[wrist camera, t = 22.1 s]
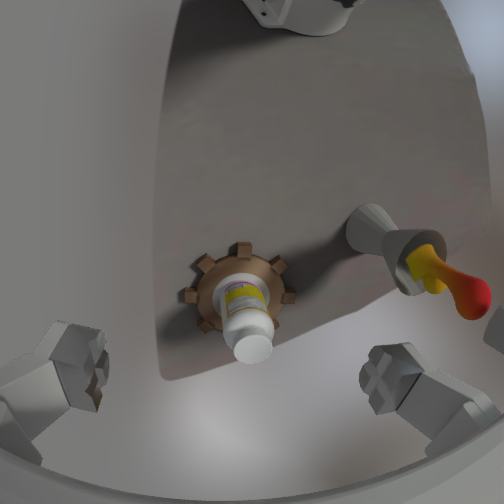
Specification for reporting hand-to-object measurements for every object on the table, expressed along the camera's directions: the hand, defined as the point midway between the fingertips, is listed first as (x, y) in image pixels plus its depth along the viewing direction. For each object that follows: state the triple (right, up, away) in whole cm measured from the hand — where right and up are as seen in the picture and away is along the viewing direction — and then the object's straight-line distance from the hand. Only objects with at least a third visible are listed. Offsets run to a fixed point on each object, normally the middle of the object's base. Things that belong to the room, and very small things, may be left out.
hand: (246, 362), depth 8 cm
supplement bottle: (-1, -4, +37) cm, 37 cm away
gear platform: (-2, -4, +38) cm, 38 cm away
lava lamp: (+20, +7, +37) cm, 43 cm away
